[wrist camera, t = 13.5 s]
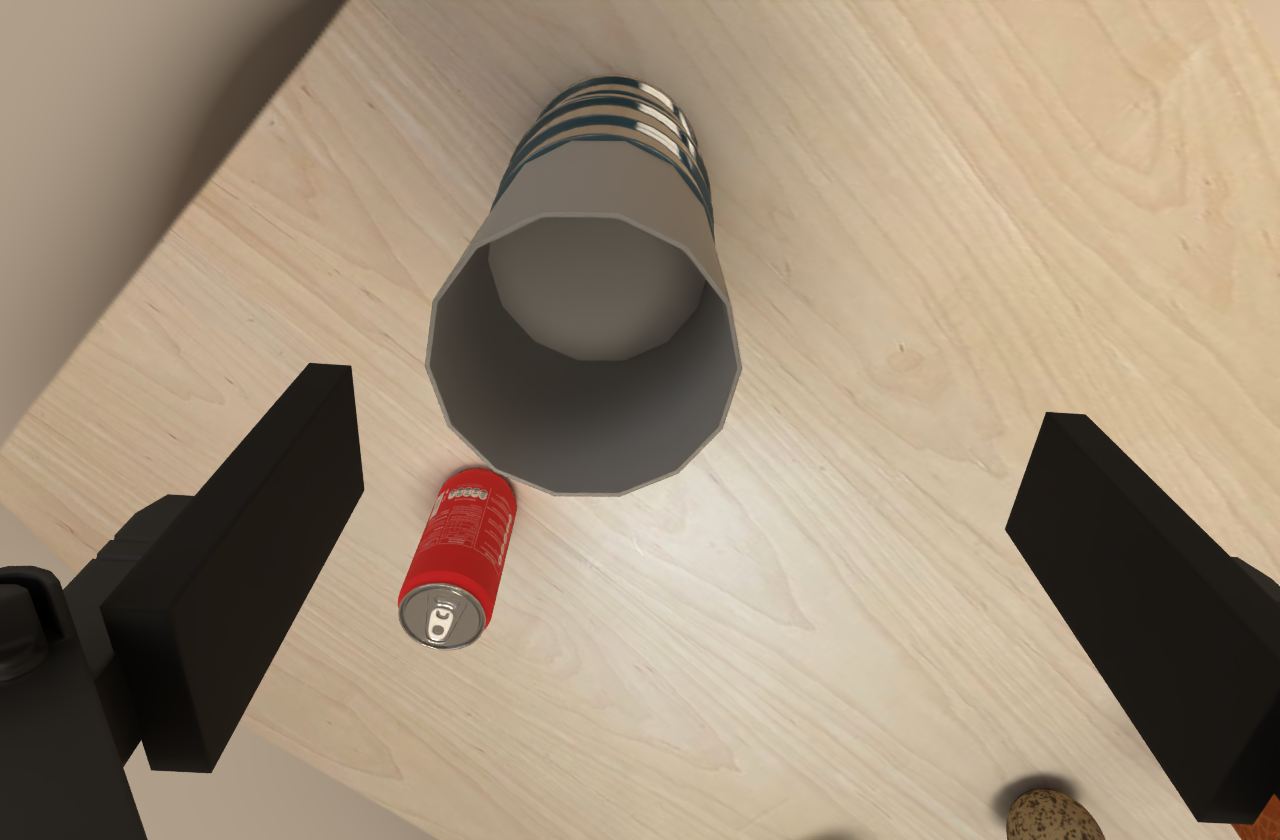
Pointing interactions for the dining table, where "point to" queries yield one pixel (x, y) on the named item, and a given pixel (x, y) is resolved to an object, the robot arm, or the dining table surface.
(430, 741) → the dining table surface
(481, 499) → the beverage can
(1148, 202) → the dining table surface
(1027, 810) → the decorative egg
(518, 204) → the cup
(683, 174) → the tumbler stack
